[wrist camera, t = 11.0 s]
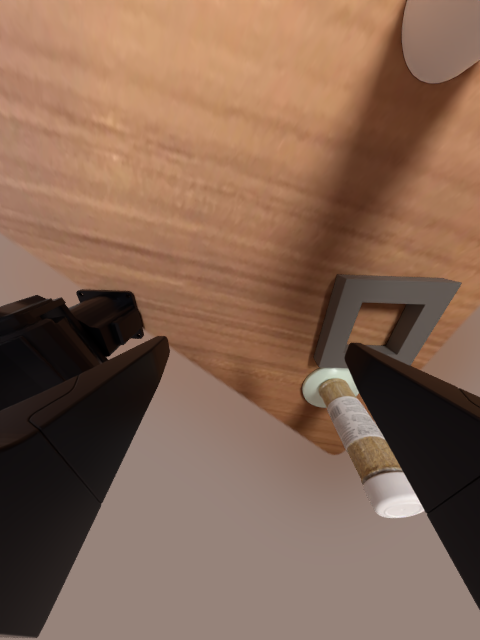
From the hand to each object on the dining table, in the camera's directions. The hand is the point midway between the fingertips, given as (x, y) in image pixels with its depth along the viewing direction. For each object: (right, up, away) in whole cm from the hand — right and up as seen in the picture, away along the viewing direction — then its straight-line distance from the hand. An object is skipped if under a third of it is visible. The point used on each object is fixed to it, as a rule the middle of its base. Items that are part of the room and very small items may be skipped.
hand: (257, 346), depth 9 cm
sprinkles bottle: (+13, -9, +19) cm, 25 cm away
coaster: (+14, -9, +19) cm, 25 cm away
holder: (+16, +1, +14) cm, 21 cm away
